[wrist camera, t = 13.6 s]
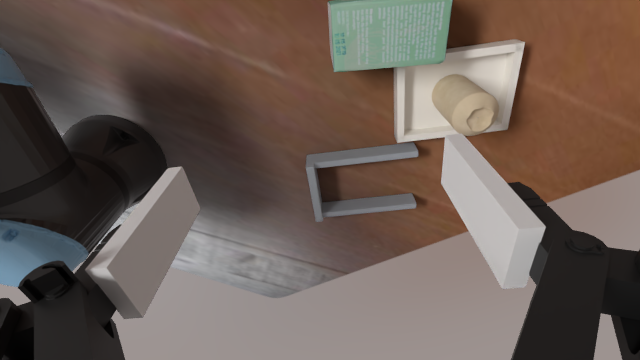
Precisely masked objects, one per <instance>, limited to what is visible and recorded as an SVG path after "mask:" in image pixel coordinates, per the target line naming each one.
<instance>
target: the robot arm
mask: <svg viewBox="0 0 640 360" xmlns="http://www.w3.org/2000/svg"><path fill="white" fill-rule="evenodd" d="M441 184H442V185H443V187H444V189H445V191H446V192H447V194H448V196H449V198H450V199H451V201H452V203H453V204H454V206H455V208H456V210H457V211H458V213H459V215H460V217H461V218H462V220H463V222H464V223H465V225H466V227H467V229H468V230H469V232H470V234H471V235H472V237H473V239H474V241H475V242H476V244H477V246H478V248H479V249H480V251H481V253H482V255H483V256H484V258H485V260H486V261H487V263H488V265H489V266H490V268H491V270H492V272H493V274H494V275H495V277H496V279H497V280H498V282H499V284H500V286H501V287H502V289H507V288H521V287H526V284H527V281H528V278H529V276H531V278H532V279H533V281H534V282H535V284H536V285H537V286H536V289H535V291H534V294H533V297H532V300H531V302H530V306H529V309H528V312H527V315H526V318H525V320H524V324H523V326H522V329H521V332H520V335H519V338H518V341H517V344H516V347H515V349H514V353H513V355H512V358H511V360H593V358H594V352H595V346H596V339H597V333H598V327H599V319H600V314H601V313H603V314H608V315H611V317H612V321H613V325H614V329H615V333H616V337H617V340H618V344H619V348H620V352H621V355H622V359H623V360H640V250H639V251H631V250H622V249H615V248H608V247H607V246H606V245H605V244H604V243H603V242H602V241H601V240H599V239H597V238H596V237H594V236H592V235H589V234H587V233H584V232H579V231H574V230H572V229H571V228H570V227H569V226H568V225H567V224H566V223H565V222H564V221H563V220H562V219H561V218H560V217H559V216H558V215H557V214H556V213H555V212H554V211H553V210H552V209H551V208H550V207H549V206H547V204H546V203H545V202H544V201H543V200H542V199H540V197H539V196H538V195H537V194H536V193H535V192H534V191H533V190H532V189H531V188H529V187H527V186H525V185H523V184H522V183H520V182H514V183H506V182H505V181H504V180H503V178H502V177H501V176H500V175H499V174H498V173H497V172H496V171H495V170H494V168H493V167H492V166H491V165H490V164H489V163H488V162H487V161H486V160H485V158H484V157H483V156H482V155H481V154H480V153H479V152H478V151H477V150H476V148H475V147H474V146H473V145H472V144H471V143H470V142H469V141H468V140H467V138H466V137H465V136H464V135H463V134H462V133H460V134H452V135H445V145H444V156H443V167H442V179H441ZM139 202H140V203H139ZM138 203H139V204H138ZM136 204H138V205H137V207H136V208H135V209H134V210H133V212H132V213H131V214H130V215H129V216H128V218H127V219H126V220H125V221H124V223H123V224H122V225H119V226H117V227H116V228H115V229H113V230H112V231H111V232H109V233H108V234H107V236H106V237H105V238H104V239H103V240H102V242H101V244H99V245H98V246H97V248H96V249H95V251H94V252H92V253H91V255H90V256H89V257H88V255H89V254H90V252H91V251H92V250H93V249H94V247H95V246H96V245H97V244H98V243H99V241H100V240H101V239H102V238H103V237H104V235H105V234H106V233H107V232H108V230H109V229H110V228H111V227H112V226H113V224H114V223H115V222H116V221H117V220H118V218H119V217H120V216H121V215H122V213H123V212H124V211H125V210H126V209H128V208H130V207H132V206H134V205H136ZM200 209H201V208H200V206H199V204H198V201H197V199H196V197H195V195H194V192H193V190H192V188H191V185H190V183H189V181H188V178H187V176H186V174H185V172H184V169H183V167H174V168H168V169H167V165H166V160H165V157H164V155H163V152H162V150H161V149H160V147H159V146H158V144H157V143H156V142H155V140H154V139H153V138H152V137H151V136H150V135H149V134H148V133H147V132H145V131H144V130H143V129H141V128H140V127H138V126H137V125H135V124H133V123H131V122H129V121H127V120H125V119H122V118H119V117H115V116H108V115H96V116H91V117H88V118H85V119H83V120H82V121H80V122H78V123H76V124H75V125H73V126H72V127H71V128H70V129H69V130H68V131H67V132H66V133H65V135H64V136H63V138H61V136H60V134H59V133H58V131H57V129H56V128H55V126H54V124H53V122H52V121H51V119H50V117H49V116H48V114H47V112H46V111H45V109H44V107H43V105H42V104H41V102H40V100H39V99H38V97H37V95H36V94H35V92H34V90H33V85H32V84H31V83H30V82H28V81H27V80H26V78H25V77H24V75H23V74H22V72H21V71H20V69H19V68H18V66H17V65H16V63H15V62H14V60H13V59H12V57H11V56H10V55H9V54H8V53H7V52H6V51H5V50H4V49H2V48H1V47H0V284H3V285H7V286H14V287H18V288H19V289H20V290H21V291H22V292H23V293H24V294H25V295H26V296H27V297H28V298H29V299H30V300H31V302H28V303H25V304H22V305H19V306H16V305H15V304H14V303H13V302H12V301H11V300H10V299H9V298H1V299H0V360H125V358H124V354H123V350H122V347H121V343H120V340H119V335H118V332H117V328H116V324H115V323H114V321H113V320H112V319H111V317H112V316H113V314H114V312H115V311H116V309H117V311H118V312H119V313H120V314H121V316H122V317H123V318H124V319H129V318H142V317H143V316H144V315H145V313H146V311H147V309H148V307H149V305H150V303H151V301H152V299H153V298H154V296H155V294H156V292H157V290H158V288H159V286H160V284H161V282H162V280H163V279H164V277H165V275H166V273H167V271H168V269H169V268H170V266H171V264H172V262H173V260H174V258H175V256H176V254H177V253H178V251H179V249H180V247H181V245H182V243H183V241H184V239H185V237H186V236H187V234H188V232H189V230H190V228H191V226H192V224H193V222H194V220H195V219H196V217H197V215H198V213H199V211H200ZM87 257H88V258H87ZM86 258H87V259H86ZM84 260H86V261H85V262H84V263H83V264H82V265H81V266H80V268H79V269H78V270H77V271H76V272H75V274H74V273H73V272H72V271H73V270H74V269H75V268H76V267H77V266H78V265H79V264H80V263H81V262H83V261H84Z"/></svg>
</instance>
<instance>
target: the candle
mask: <svg viewBox="0 0 640 360" xmlns="http://www.w3.org/2000/svg"><path fill="white" fill-rule="evenodd" d="M432 102H433V104H434V106H435V107H436V109H437V110H438V111H439V112H440V113H441V114H442V116H443V117H444V118H445V119H446V120H447V121H448V122H449V124H450V125H451V126H452V127H453V128H454V129H455V130H456V131H457V132H458V133H459V134H460V133H462V134H463V135H465V136H474V135H478V134H480V133H483V132H484V131H486V130H487V129H488V128H490V127H491V126H492V125H493V123H494V122H495V120H496V118H497V116H498V113H499V105H498V102H497V100H496V98H495V97H494V96H492V95H491V94H489V93H488V92H486V91H485V90H483V89H482V88H481V87H479V86H478V85H476V84H475V83H473V82H472V81H470V80H469V79H468V78H466V77H464V76H462V75H458V74H452V75H448V76H446V77H444V78H442V79H441V80H440V81H439V82H438V83H437V84H436V85H435V87H434V89H433V92H432Z"/></svg>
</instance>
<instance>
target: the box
mask: <svg viewBox="0 0 640 360" xmlns="http://www.w3.org/2000/svg"><path fill="white" fill-rule="evenodd" d="M451 8H452V0H334V1H328V16H329V35H330V50H331V58H332V64H333V69H334V72H346V71H357V70H368V69H379V68H391V67H404V66H416V65H428V64H440V63H442V62H443V61H444V60H445V57H446V47H447V39H448V32H449V24H450V16H451Z"/></svg>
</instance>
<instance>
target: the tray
mask: <svg viewBox="0 0 640 360" xmlns="http://www.w3.org/2000/svg"><path fill="white" fill-rule="evenodd" d="M524 45H525V42H522V41H519V40H516V39H513V40H506V41H499V42H492V43H485V44H478V45H471V46H464V47H457V48H450V49H446V57H445V60H444V61H443V62H442V63H440V64H428V65H416V66H404V67H394V136H395V139H396V141H397V143H399V142H408V141H416V140H425V139H433V138H442V137H445V135H452V134H459V133H458V132H457V131H456V130H455V129H454V128H453V127H452V126H451V125H450V124H449V122H448V121H447V120H446V119H445V118H444V117H443V116H442V114H441V113H440V112H439V111H438V110H437V109H436V107H435V106H434V104H433V102H432V92H433V89H434V87H435V85H436V84H437V83H438V82H439V81H440V80H441V79H442V78H444V77H446V76H448V75H452V74H458V75H462V76H464V77H466V78H468V79H469V80H470V81H472V82H473V83H475V84H476V85H478V86H479V87H481V88H482V89H483V90H485V91H486V92H488V93H489V94H491V95H492V96H494V97H495V98H496V100H497V102H498V105H499V113H498V116H497V118H496V120H495V122H494V123H493V125H492V126H491V127H490V128H488V129H487V130H486V131H484V132H492V131H501V130H507V129H508V124H509V120H510V115H511V110H512V105H513V100H514V95H515V90H516V85H517V80H518V75H519V70H520V65H521V60H522V55H523V50H524ZM484 132H483V133H484Z"/></svg>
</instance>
